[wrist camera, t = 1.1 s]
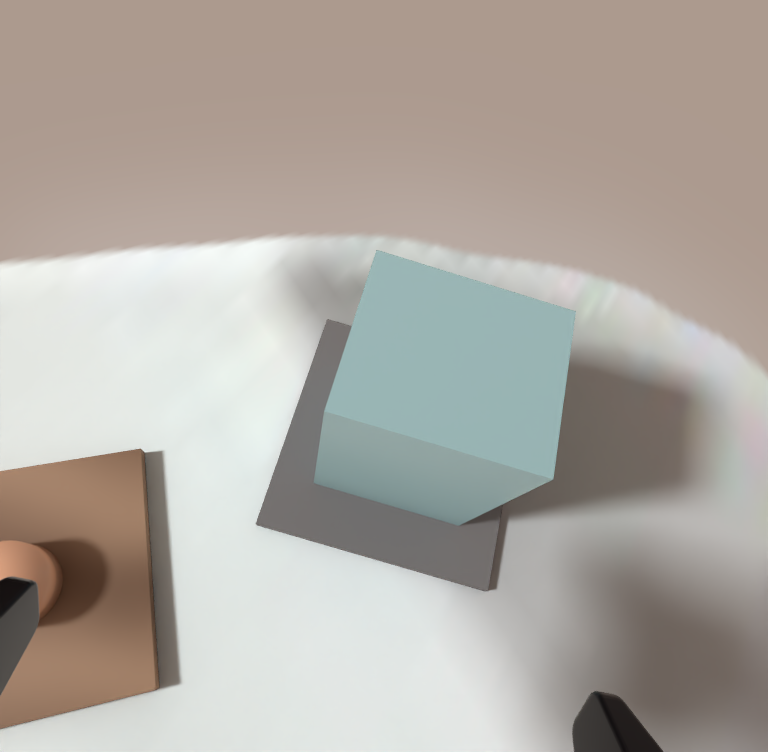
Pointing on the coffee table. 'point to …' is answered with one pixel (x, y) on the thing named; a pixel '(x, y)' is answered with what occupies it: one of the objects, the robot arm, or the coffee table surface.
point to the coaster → (84, 584)
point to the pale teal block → (445, 393)
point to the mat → (360, 515)
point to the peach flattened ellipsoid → (33, 570)
